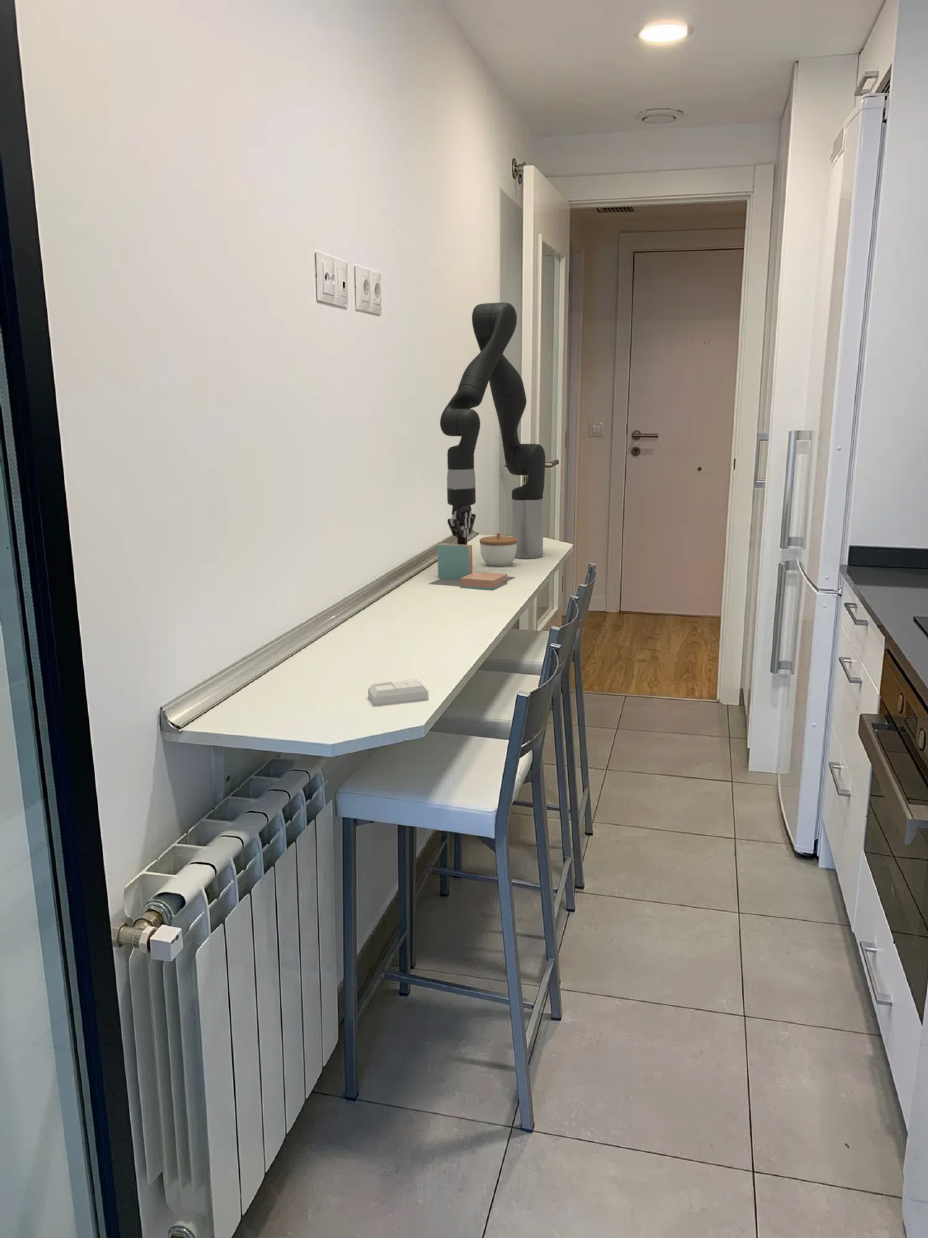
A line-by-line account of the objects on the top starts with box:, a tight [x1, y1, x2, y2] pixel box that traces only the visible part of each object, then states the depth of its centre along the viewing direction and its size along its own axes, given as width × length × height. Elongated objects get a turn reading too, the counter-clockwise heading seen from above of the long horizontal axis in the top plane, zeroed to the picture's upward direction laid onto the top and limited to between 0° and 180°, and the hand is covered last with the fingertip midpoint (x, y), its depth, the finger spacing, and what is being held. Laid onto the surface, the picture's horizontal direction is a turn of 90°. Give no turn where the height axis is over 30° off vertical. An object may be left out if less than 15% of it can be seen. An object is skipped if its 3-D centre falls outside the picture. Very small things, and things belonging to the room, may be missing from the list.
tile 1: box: [436, 542, 474, 580], centre depth 249 cm, size 2×9×9 cm, turn 64°
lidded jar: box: [479, 532, 517, 568], centre depth 268 cm, size 11×11×9 cm
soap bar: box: [367, 679, 430, 706], centre depth 155 cm, size 5×9×3 cm, turn 107°
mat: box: [428, 576, 517, 587], centre depth 247 cm, size 16×18×1 cm
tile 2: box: [459, 571, 508, 591], centre depth 240 cm, size 2×9×9 cm
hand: (462, 551), depth 253 cm, fingers closed
